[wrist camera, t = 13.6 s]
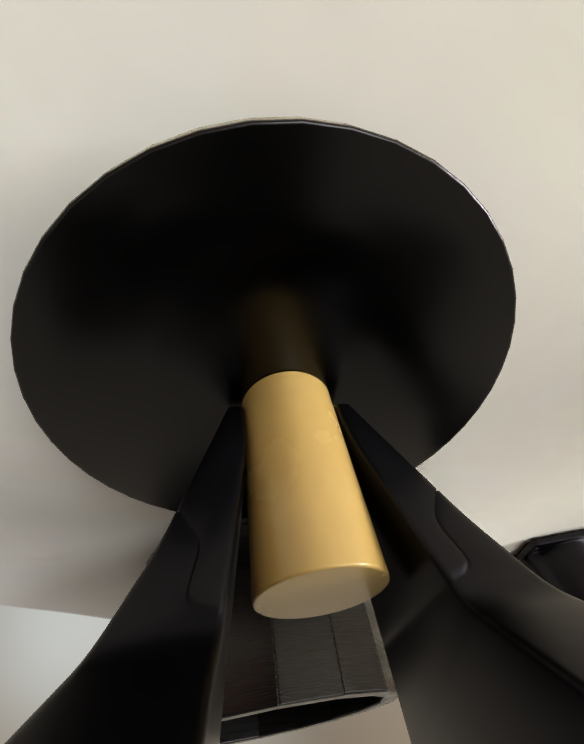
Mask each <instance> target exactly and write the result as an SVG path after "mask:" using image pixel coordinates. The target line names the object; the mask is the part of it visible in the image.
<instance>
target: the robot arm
mask: <svg viewBox="0 0 584 744" xmlns="http://www.w3.org/2000/svg"><path fill="white" fill-rule="evenodd" d="M333 407H334V410H335V413H336V416H337V419H338V422H339V425H340V428H341V431H342V434H343V437H344V440H345V443H346V446H347V449H348V452H349V455H350V458H351V461H352V464H353V467H354V470H355V473H356V476H357V479H358V482H359V485H360V488H361V491H362V494H363V497H364V500H365V503H366V506H367V509H368V512H369V515H370V518H371V521H372V524H373V527H374V530H375V533H376V536H377V539H378V542H379V545H380V548H381V551H382V554H383V557H384V560H385V563H386V566H387V569H388V572H389V575H390V580H389V583H388V585H387V586H386V588H385V589H384V590H382V591H381V592H380V593H379V594H377V595H376V596H374V597H373V598H371V603H372V606H373V610H374V613H375V617H376V620H377V624H378V627H379V631H380V634H381V638H382V641H383V644H384V649H385V652H386V656H387V659H388V663H389V666H390V670H391V673H392V677H393V681H394V684H395V688H396V691H397V695H398V698H399V702H400V705H401V708H402V712H403V716H404V719H405V723H406V726H407V730H408V733H409V737H410V740H411V744H584V530H581V531H576V532H571V533H566V534H561V535H556V536H551V537H546V538H541V539H536V540H533V541H531V542H529V543H528V544H527V545H526V547H525V548H524V549H523V550H522V551H521V552H520V553H519V554H518V555H517V556H516V558H515V557H514V556H513V555H512V554H510V553H509V552H508V551H507V550H506V549H504V548H503V547H502V546H501V545H499V544H498V543H497V542H496V541H495V540H493V539H492V538H491V537H490V536H488V535H487V534H486V533H485V532H484V531H483V530H481V529H480V528H479V527H478V526H477V525H475V524H474V523H473V522H472V521H471V520H470V519H468V518H467V517H466V516H465V515H464V514H463V513H462V512H461V511H460V510H459V509H457V508H456V507H455V506H454V505H453V504H452V503H451V502H450V501H449V500H448V499H447V498H446V497H445V496H444V495H443V494H441V493H440V492H439V491H436V488H435V487H434V486H433V485H432V484H431V483H430V482H429V481H428V480H427V479H426V478H425V477H424V476H423V475H422V474H421V473H419V472H418V471H417V470H416V469H415V468H414V467H413V466H412V465H411V464H410V463H409V462H408V461H407V460H406V459H405V458H404V457H403V456H402V455H401V454H400V453H399V452H398V451H397V450H396V449H394V448H393V447H392V446H391V445H390V444H389V443H388V442H387V441H386V440H385V439H384V438H383V437H382V436H381V435H380V434H379V433H378V432H377V431H376V430H375V429H374V428H373V427H372V426H371V425H369V424H368V423H367V422H366V421H365V420H364V419H363V418H362V417H361V416H360V415H359V414H358V413H357V412H356V411H355V410H354V409H353V408H352V407H351V406H350V405H348V404H335V405H334V406H333ZM245 455H246V430H245V417H244V408H243V407H242V406H235V407H229V408H228V409H227V411H226V413H225V415H224V417H223V419H222V421H221V423H220V425H219V427H218V429H217V431H216V433H215V435H214V437H213V439H212V441H211V443H210V445H209V447H208V449H207V451H206V453H205V455H204V457H203V459H202V461H201V463H200V465H199V467H198V469H197V471H196V473H195V475H194V477H193V479H192V481H191V483H190V485H189V487H188V489H187V491H186V493H185V495H184V497H183V499H182V501H181V503H180V505H179V507H178V511H177V512H176V513H175V515H174V517H173V519H172V521H171V523H170V525H169V527H168V529H167V531H166V533H165V534H164V536H163V538H162V540H161V542H160V544H159V546H158V547H157V549H156V551H155V552H154V554H153V556H152V557H151V559H150V561H149V562H148V564H147V565H146V567H145V569H144V570H143V572H142V573H141V575H140V577H139V578H138V580H137V581H136V583H135V584H134V586H133V587H132V589H131V590H130V592H129V593H128V595H127V597H126V598H125V600H124V601H123V603H122V604H121V606H120V607H119V609H118V610H117V612H116V613H115V615H114V617H113V618H112V620H111V621H110V623H109V624H108V626H107V627H106V629H105V631H104V632H103V633H102V635H101V636H100V638H99V639H98V641H97V642H96V643H95V645H94V646H93V648H92V649H91V650H90V652H89V653H88V654H87V656H86V657H85V658H84V660H83V661H82V662H81V663H80V665H79V666H78V667H77V668H76V669H75V670H74V671H73V673H72V674H71V675H70V676H69V677H68V678H67V679H66V680H65V681H64V682H63V683H62V684H61V685H60V686H59V687H58V688H57V689H56V690H55V692H54V693H53V694H52V695H51V696H50V697H49V698H48V699H47V700H46V701H45V702H44V703H43V704H42V705H41V706H40V707H39V708H38V709H37V710H36V711H35V712H34V713H33V715H32V716H31V717H30V718H29V719H28V720H27V721H26V722H25V723H24V724H23V725H22V726H21V727H20V728H19V729H18V730H17V731H16V732H15V734H13V735H12V736H11V738H10V739H9V740H8V741H7V742H6V743H5V744H219V742H220V732H221V721H222V711H223V701H224V690H225V680H226V669H227V659H228V649H229V638H230V628H231V618H232V607H233V597H234V587H235V576H236V566H237V555H238V545H239V535H240V524H241V514H242V504H243V493H244V477H245Z"/></svg>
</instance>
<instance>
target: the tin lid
mask: <svg viewBox="0 0 584 744" xmlns="http://www.w3.org/2000/svg"><path fill="white" fill-rule="evenodd" d="M515 310H516V291H515V283H514V276H513V268H512V265H511V262H510V259H509V256H508V253H507V250H506V247H505V244H504V241H503V238H502V236H501V235H500V233H499V231H498V229H497V227H496V226H495V224H494V222H493V220H492V219H491V217H490V215H489V213H488V211H487V210H486V209H485V208H484V207H483V205H482V204H481V203H480V202H479V201H478V199H477V198H476V197H475V196H474V195H473V194H472V192H471V191H470V190H469V189H468V188H467V186H466V185H465V184H464V183H462V182H461V181H460V180H459V179H457V178H456V177H455V176H454V175H452V174H451V173H450V172H449V171H447V170H446V169H445V168H444V167H442V166H441V165H440V164H439V163H437V162H436V161H435V160H433V159H432V158H430V157H428V156H426V155H424V154H422V153H420V152H418V151H417V150H415V149H413V148H411V147H409V146H407V145H405V144H403V143H402V142H400V141H398V140H395V139H392V138H389V137H386V136H383V135H380V134H377V133H374V132H370V131H367V130H364V129H361V128H358V127H355V126H352V125H349V124H346V123H339V122H332V121H325V120H318V119H311V118H304V117H268V118H246V119H241V120H236V121H230V122H225V123H220V124H215V125H209V126H204V127H199V128H197V129H194V130H191V131H188V132H186V133H183V134H180V135H178V136H175V137H172V138H169V139H167V140H164V141H161V142H159V143H156V144H153V145H151V146H150V147H148V148H146V149H144V150H143V151H141V152H139V153H137V154H136V155H134V156H132V157H130V158H129V159H127V160H125V161H124V162H122V163H120V164H118V165H117V166H115V167H113V168H111V169H110V170H109V171H107V172H106V173H105V174H103V175H102V176H101V177H100V178H99V179H98V180H96V181H95V182H94V183H93V184H92V185H90V186H89V187H88V188H87V189H86V190H84V191H83V192H82V193H81V194H80V195H78V196H77V197H76V198H75V199H74V200H73V201H71V202H70V203H69V204H68V205H67V207H66V208H65V209H64V210H63V211H62V213H61V214H60V215H59V216H58V218H57V219H56V220H55V221H54V222H53V224H52V225H51V226H50V227H49V228H48V230H47V231H46V232H45V233H44V235H43V236H42V237H41V239H40V241H39V243H38V245H37V247H36V248H35V250H34V252H33V254H32V256H31V258H30V260H29V262H28V263H27V265H26V267H25V269H24V271H23V274H22V277H21V281H20V284H19V287H18V291H17V294H16V298H15V301H14V304H13V313H12V325H11V337H10V340H11V348H12V356H13V365H14V371H15V374H16V377H17V380H18V384H19V387H20V390H21V393H22V396H23V398H24V400H25V402H26V404H27V406H28V408H29V410H30V412H31V413H32V415H33V417H34V419H35V421H36V422H37V424H38V425H39V426H40V428H41V429H42V430H43V432H44V433H45V434H46V436H47V437H48V438H49V440H50V441H51V442H52V443H53V444H54V445H55V446H56V447H57V448H58V449H59V450H60V451H61V452H62V453H63V454H64V455H65V456H66V457H67V458H68V459H69V460H70V461H72V462H73V463H74V464H75V465H77V466H78V467H79V468H81V469H82V470H83V471H84V472H86V473H87V474H88V475H90V476H92V477H93V478H95V479H96V480H98V481H100V482H101V483H103V484H105V485H106V486H108V487H110V488H112V489H114V490H116V491H118V492H120V493H122V494H125V495H127V496H129V497H131V498H134V499H137V500H139V501H142V502H145V503H147V504H150V505H153V506H157V507H161V508H164V509H168V510H171V511H176V512H177V511H178V507H179V505H180V503H181V501H182V499H183V497H184V495H185V493H186V491H187V489H188V487H189V485H190V483H191V481H192V479H193V477H194V475H195V473H196V471H197V469H198V467H199V465H200V463H201V461H202V459H203V457H204V455H205V453H206V451H207V449H208V447H209V445H210V443H211V441H212V439H213V437H214V435H215V433H216V431H217V429H218V427H219V425H220V423H221V421H222V419H223V417H224V415H225V413H226V411H227V409H228V408H229V407H235V406H242V407H243V408H244V417H245V430H246V455H245V477H244V493H243V504H242V514H241V519H242V518H248V538H249V558H250V578H251V597H252V606H253V608H254V610H255V611H256V612H257V613H259V614H261V615H264V616H267V617H272V618H279V619H298V618H308V617H315V616H321V615H326V614H330V613H334V612H338V611H342V610H345V609H348V608H351V607H353V606H356V605H359V604H361V603H363V602H365V601H367V600H369V599H371V598H373V597H374V596H376V595H377V594H379V593H380V592H381V591H382V590H384V589H385V588H386V586H387V585H388V583H389V580H390V575H389V572H388V569H387V566H386V563H385V560H384V557H383V554H382V551H381V548H380V545H379V542H378V539H377V536H376V533H375V530H374V527H373V524H372V521H371V518H370V515H369V512H368V509H367V506H366V503H365V500H364V497H363V494H362V491H361V488H360V485H359V482H358V479H357V476H356V473H355V470H354V467H353V464H352V461H351V458H350V455H349V452H348V449H347V446H346V443H345V440H344V437H343V434H342V431H341V428H340V425H339V422H338V419H337V416H336V413H335V410H334V407H333V406H334V405H335V404H348V405H350V406H351V407H352V408H353V409H354V410H355V411H356V412H357V413H358V414H359V415H360V416H361V417H362V418H363V419H364V420H365V421H366V422H367V423H368V424H369V425H371V426H372V427H373V428H374V429H375V430H376V431H377V432H378V433H379V434H380V435H381V436H382V437H383V438H384V439H385V440H386V441H387V442H388V443H389V444H390V445H391V446H392V447H393V448H394V449H396V450H397V451H398V452H399V453H400V454H401V455H402V456H403V457H404V458H405V459H406V460H407V461H408V462H409V463H410V464H411V465H412V466H413V467H414V468H416V467H417V466H418V465H420V464H421V463H423V462H424V461H425V460H427V459H428V458H430V457H431V456H432V455H434V454H435V453H436V452H437V451H438V450H440V449H441V448H442V447H443V446H444V445H445V444H447V443H448V442H449V441H450V440H451V439H452V438H453V437H454V436H455V435H456V434H457V433H458V432H459V431H460V430H461V429H462V428H463V427H464V426H465V425H466V424H467V422H468V421H469V420H470V419H471V417H472V416H473V415H474V414H475V413H476V411H477V410H478V409H479V408H480V406H481V405H482V403H483V402H484V400H485V399H486V397H487V396H488V394H489V392H490V391H491V389H492V387H493V385H494V384H495V382H496V380H497V378H498V376H499V374H500V372H501V370H502V367H503V365H504V362H505V359H506V356H507V353H508V351H509V348H510V344H511V339H512V334H513V329H514V324H515Z"/></svg>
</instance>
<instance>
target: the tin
mask: <svg viewBox="0 0 584 744" xmlns="http://www.w3.org/2000/svg"><path fill="white" fill-rule="evenodd" d="M153 554H154V553H153ZM153 554H152V555H151V557H152V556H153ZM151 557H150V558H149V560H148V561H147V564H148V562H149V561H150V559H151ZM147 564H146V565H147ZM397 698H398V695H397V691H396V688H395V684H394V681H393V677H392V673H391V670H390V666H389V663H388V659H387V656H386V652H385V649H384V644H383V641H382V638H381V634H380V631H379V627H378V624H377V620H376V617H375V613H374V610H373V606H372V603H371V599H369V600H367V601H365V602H363V603H361V604H359V605H356V606H353V607H351V608H348V609H345V610H342V611H338V612H334V613H330V614H326V615H321V616H315V617H308V618H298V619H279V618H272V617H267V616H264V615H261V614H259V613H257V612H256V611H255V610H254V608H253V606H252V597H251V578H250V558H249V538H248V518H242V519H241V524H240V535H239V545H238V555H237V566H236V576H235V587H234V597H233V607H232V618H231V628H230V638H229V649H228V659H227V669H226V680H225V690H224V701H223V711H222V721H221V732H220V742H219V744H235V743H240V742H245V741H250V740H256V739H258V738H259V739H260V738H265V737H269V736H274V735H278V734H283V733H287V732H292V731H296V730H300V729H305V728H308V727H312V726H316V725H320V724H324V723H327V722H332V721H336V720H339V719H343V718H345V717H349V716H353V715H356V714H359V713H362V712H366V711H369V710H372V709H375V708H377V707H380V706H382V705H385V704H387V703H390V702H392V701H394V700H396V699H397Z"/></svg>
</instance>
